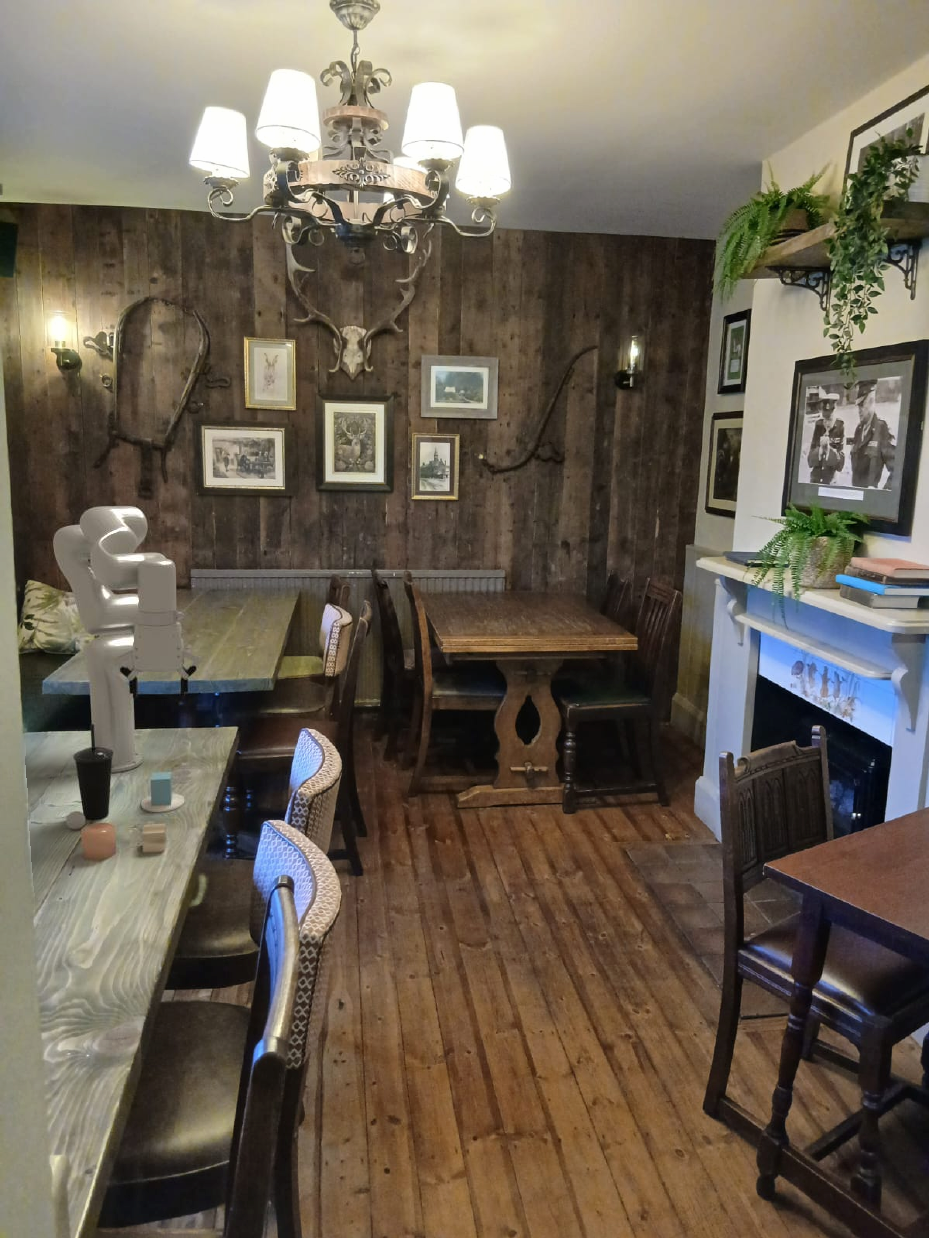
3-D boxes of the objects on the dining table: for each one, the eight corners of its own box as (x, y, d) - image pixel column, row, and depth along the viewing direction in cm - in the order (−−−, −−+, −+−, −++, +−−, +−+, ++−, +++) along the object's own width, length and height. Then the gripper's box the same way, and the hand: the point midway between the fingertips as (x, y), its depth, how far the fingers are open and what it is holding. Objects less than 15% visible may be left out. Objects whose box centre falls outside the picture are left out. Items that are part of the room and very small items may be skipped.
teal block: (153, 798, 192) (152, 772, 191) (172, 797, 193) (171, 771, 192) (151, 806, 189) (150, 779, 187) (170, 804, 190) (170, 778, 188)
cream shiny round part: (143, 796, 195) (143, 794, 195) (185, 794, 197) (185, 791, 197) (139, 813, 186) (138, 810, 186) (183, 810, 188) (183, 808, 188)
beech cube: (144, 843, 173) (144, 824, 172) (166, 842, 174) (165, 823, 173) (143, 852, 169) (142, 833, 168) (164, 851, 170) (164, 832, 169)
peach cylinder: (84, 847, 170) (83, 823, 169) (117, 845, 172) (116, 821, 171) (79, 862, 165) (78, 837, 164) (114, 859, 166) (113, 835, 165)
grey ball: (68, 825, 179) (67, 808, 179) (87, 824, 180) (86, 807, 179) (64, 832, 176) (64, 816, 175) (84, 831, 177) (83, 814, 176)
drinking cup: (101, 825, 180) (97, 732, 176) (68, 820, 181) (63, 728, 177) (123, 810, 187) (119, 720, 183) (91, 806, 189) (87, 717, 185)
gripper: (201, 614, 189) (202, 690, 193) (115, 614, 185) (118, 691, 188) (200, 621, 182) (201, 700, 186) (111, 621, 178) (113, 702, 181)
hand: (159, 696), depth 187 cm, fingers open, 9 cm apart
